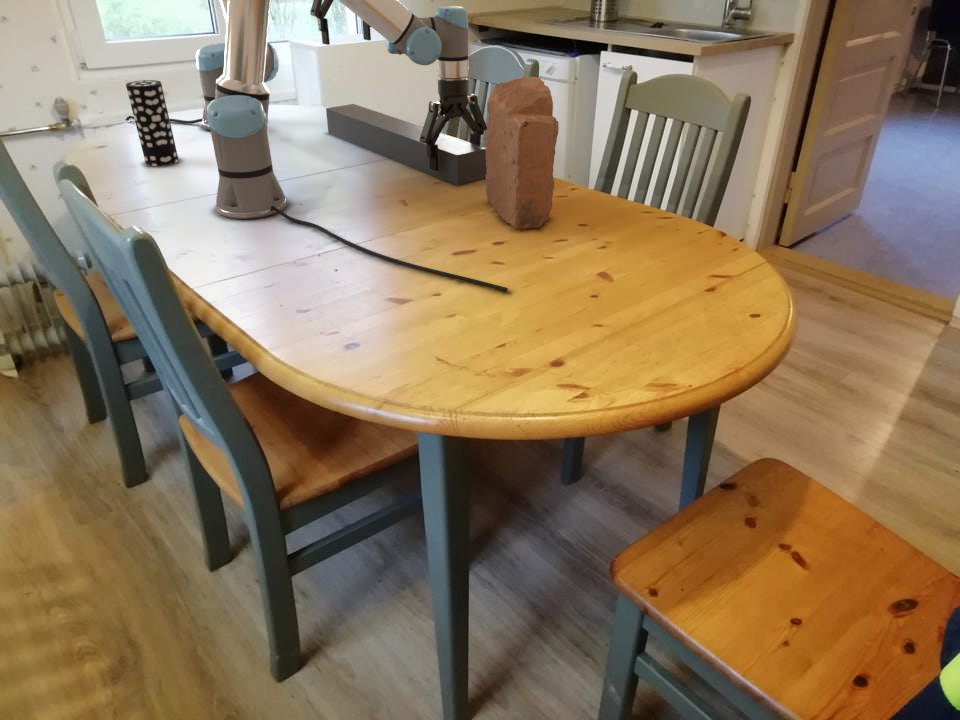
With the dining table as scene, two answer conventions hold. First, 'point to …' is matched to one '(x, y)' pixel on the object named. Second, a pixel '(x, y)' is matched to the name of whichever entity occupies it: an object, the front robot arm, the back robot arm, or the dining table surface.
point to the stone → (521, 151)
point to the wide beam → (407, 143)
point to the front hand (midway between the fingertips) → (454, 164)
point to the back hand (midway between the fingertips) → (347, 42)
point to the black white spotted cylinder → (152, 122)
